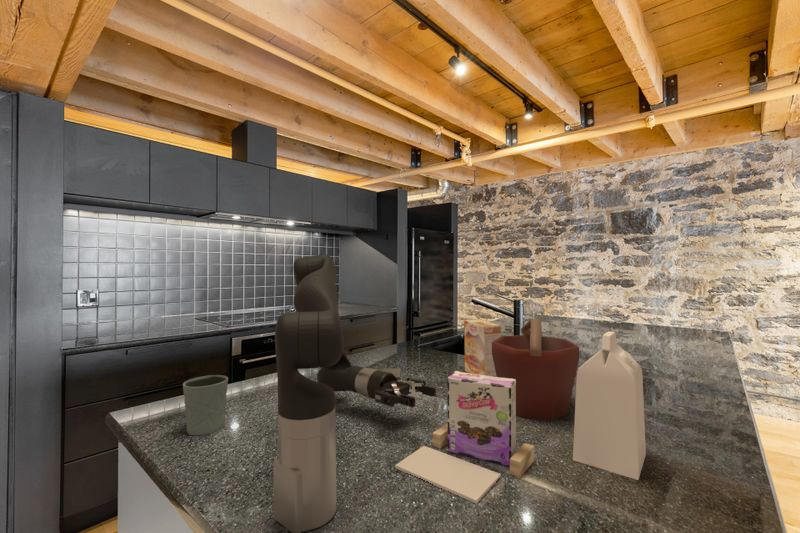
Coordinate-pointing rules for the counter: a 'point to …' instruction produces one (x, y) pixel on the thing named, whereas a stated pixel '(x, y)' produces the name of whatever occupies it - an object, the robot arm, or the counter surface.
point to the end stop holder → (517, 461)
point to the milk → (610, 411)
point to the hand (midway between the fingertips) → (425, 397)
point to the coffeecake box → (480, 346)
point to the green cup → (205, 404)
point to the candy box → (482, 416)
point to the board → (449, 473)
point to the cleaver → (394, 372)
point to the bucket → (537, 371)
